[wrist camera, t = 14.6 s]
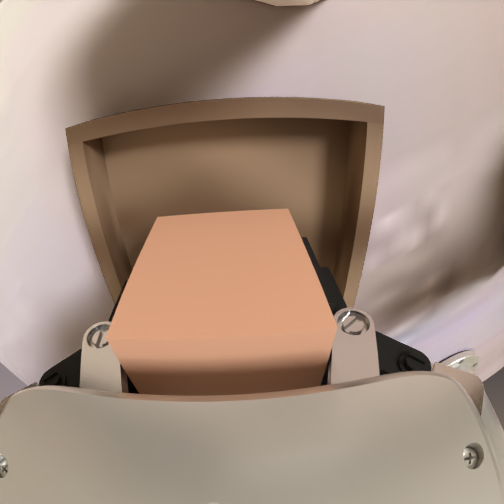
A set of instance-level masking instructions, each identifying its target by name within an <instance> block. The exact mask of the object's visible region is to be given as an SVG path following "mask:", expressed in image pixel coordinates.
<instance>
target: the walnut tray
mask: <svg viewBox="0 0 504 504" xmlns="http://www.w3.org/2000/svg"><path fill="white" fill-rule="evenodd" d="M384 107H385V106H380V105H375V104H369V103H363V102H356V101H346V100H336V99H322V98H303V97H246V98H227V99H213V100H202V101H192V102H184V103H176V104H169V105H162V106H156V107H150V108H144V109H139V110H134V111H129V112H124V113H119V114H115V115H111V116H106V117H102V118H98V119H94V120H91V121H87V122H84V123H81V124H78V125H75V126H72V127H69V128H66V136H67V142H68V148H69V153H70V159H71V164H72V169H73V173H74V178H75V182H76V186H77V191H78V195H79V199H80V202H81V206H82V210H83V214H84V217H85V221H86V224H87V227H88V231H89V234H90V237H91V240H92V243H93V247H94V250H95V253H96V255H97V258H98V261H99V264H100V267H101V270H102V272H103V275H104V278H105V280H106V283H107V286H108V288H109V291H110V293H111V296H112V298H113V301H114V303H115V304H116V302H117V299H118V297H119V294H120V292H121V290H122V287H123V285H124V283H125V281H126V280H127V279H129V277H130V275H131V273H132V270H133V268H134V266H135V263H136V261H137V259H138V257H139V255H140V252H141V250H142V248H143V246H144V244H145V242H146V240H147V237H148V235H149V233H150V231H151V229H152V227H153V225H154V223H155V221H156V219H157V217H163V216H174V215H187V214H200V213H214V212H230V211H247V210H266V209H289V212H290V214H291V216H292V218H293V221H294V223H295V225H296V227H297V230H298V232H299V234H300V236H301V237H307V239H308V241H309V243H310V246H311V248H312V250H313V252H314V254H315V256H316V259H317V261H318V263H319V265H320V267H328V268H329V269H330V271H331V273H332V275H333V277H334V279H335V281H336V283H337V286H338V288H339V290H340V292H341V294H342V296H343V299H344V301H345V303H346V305H347V307H348V308H353V307H354V303H355V299H356V295H357V291H358V287H359V283H360V279H361V274H362V270H363V265H364V261H365V256H366V251H367V246H368V241H369V236H370V230H371V224H372V219H373V213H374V206H375V200H376V193H377V185H378V178H379V169H380V160H381V150H382V139H383V125H384Z"/></svg>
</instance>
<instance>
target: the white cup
mask: <svg viewBox="0 0 504 504" xmlns="http://www.w3.org/2000/svg"><path fill="white" fill-rule="evenodd" d="M256 1H260V2H264V3H267V4H271V5H274V6H294V5H311V4H313V3H315V2H318V1H320V0H256Z"/></svg>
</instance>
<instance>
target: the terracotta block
mask: <svg viewBox="0 0 504 504" xmlns="http://www.w3.org/2000/svg"><path fill="white" fill-rule="evenodd" d="M336 331H337V324H336V322H335V319H334V317H333V314H332V311H331V309H330V306H329V304H328V301H327V299H326V296H325V294H324V291H323V289H322V286H321V284H320V281H319V279H318V277H317V274H316V272H315V269H314V267H313V265H312V262H311V260H310V257H309V255H308V253H307V250H306V248H305V246H304V243H303V241H302V239H301V236H300V234H299V232H298V230H297V227H296V225H295V223H294V221H293V218H292V216H291V214H290V212H289V209H266V210H247V211H230V212H214V213H200V214H187V215H174V216H163V217H157V219H156V221H155V223H154V225H153V227H152V229H151V231H150V233H149V235H148V237H147V240H146V242H145V244H144V246H143V248H142V250H141V252H140V255H139V257H138V259H137V261H136V263H135V266H134V268H133V270H132V273H131V275H130V277H129V279H128V282H127V284H126V287H125V289H124V291H123V294H122V296H121V299H120V301H119V304H118V306H117V309H116V311H115V314H114V317H113V319H112V322H111V325H110V327H109V330H108V333H107V336H106V339H107V341H108V343H109V345H110V346H111V348H112V350H113V352H114V353H115V355H116V357H117V359H118V360H119V362H120V364H121V365H122V367H123V369H124V370H125V372H126V373H127V375H128V377H129V378H130V380H131V381H132V383H133V384H134V386H135V388H136V389H137V391H138V392H139V394H149V395H176V396H211V395H238V394H253V393H266V392H277V391H286V390H295V389H303V388H310V387H317V386H320V385H321V382H322V379H323V376H324V373H325V369H326V366H327V363H328V360H329V356H330V353H331V349H332V346H333V342H334V338H335V335H336Z"/></svg>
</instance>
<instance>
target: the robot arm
mask: <svg viewBox="0 0 504 504" xmlns="http://www.w3.org/2000/svg"><path fill="white" fill-rule="evenodd" d="M301 239H302V241H303V243H304V246H305V248H306V250H307V253H308V255H309V257H310V260H311V262H312V265H313V267H314V269H315V272H316V274H317V277H318V279H319V281H320V284H321V286H322V289H323V291H324V294H325V296H326V299H327V301H328V304H329V306H330V309H331V311H332V314H333V317H334V319H335V322H336V324H337V331H336V335H335V338H334V342H333V346H332V349H331V353H330V356H329V360H328V363H327V366H326V369H325V373H324V376H323V379H322V382H321V385H320V386H317V387H310V388H303V389H295V390H286V391H277V392H266V393H253V394H238V395H211V396H176V395H149V394H139V392H138V391H137V389H136V388H135V386H134V384H133V383H132V381H131V380H130V378H129V377H128V375H127V373H126V372H125V370H124V369H123V367H122V365H121V364H120V362H119V360H118V359H117V357H116V355H115V353H114V352H113V350H112V348H111V346H110V345H109V343H108V341H107V339H106V336H107V333H108V330H109V327H110V325H111V322H112V319H113V317H114V314H115V311H116V309H117V306H118V304H119V301H120V299H121V296H122V294H123V291H124V289H125V287H126V284H127V282H128V279H127V280H126V281H125V283H124V285H123V287H122V290H121V292H120V294H119V297H118V299H117V302H116V304H115V307H114V309H113V312H112V314H111V317H110V319H109V322H108V321H103V322H99V323H96V324H94V325H92V326H91V327H90V328H89V329H88V330H87V331H86V332H85V334H84V337H83V342H82V349H80V350H79V351H77V352H75V353H74V354H72V355H71V356H69V357H68V358H66V359H64V360H63V361H61V362H60V363H58V364H57V365H55V366H54V367H52V368H50V369H49V370H48V371H46V372H45V373H44V374H43V376H42V377H41V380H40V382H39V384H38V383H37V382H35V383H33V384H31V385H29V386H27V387H25V388H24V389H21V390H19V391H18V392H16V393H14V394H12V395H10V396H8V397H6V398H5V399H3V400H2V401H1V403H0V504H504V431H503V429H502V427H501V424H500V422H499V420H498V418H497V416H496V414H495V411H494V409H493V407H492V405H491V403H490V401H489V399H488V397H487V396H486V393H485V391H484V386H483V383H482V381H481V380H480V378H479V377H478V376H476V375H475V373H474V370H475V369H476V367H477V365H478V362H479V357H478V356H477V354H476V352H474V351H471V350H469V351H464V352H461V353H458V354H456V355H454V356H452V357H450V358H448V359H446V360H444V361H443V362H441V363H438V362H435V364H434V365H433V364H431V363H430V361H429V359H428V358H427V356H426V355H425V354H423V353H422V352H420V351H418V350H416V349H414V348H412V347H409V346H407V345H405V344H403V343H401V342H398V341H396V340H394V339H392V338H390V337H388V336H385V335H383V334H381V333H379V332H377V331H375V326H374V321H373V319H372V317H371V316H370V315H369V314H368V313H366V312H365V311H363V310H361V309H358V308H348V307H347V305H346V303H345V301H344V299H343V296H342V294H341V292H340V290H339V288H338V286H337V283H336V281H335V279H334V277H333V275H332V273H331V271H330V269H329V268H328V267H320V265H319V263H318V261H317V259H316V256H315V254H314V252H313V250H312V248H311V246H310V243H309V241H308V239H307V237H301Z"/></svg>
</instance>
